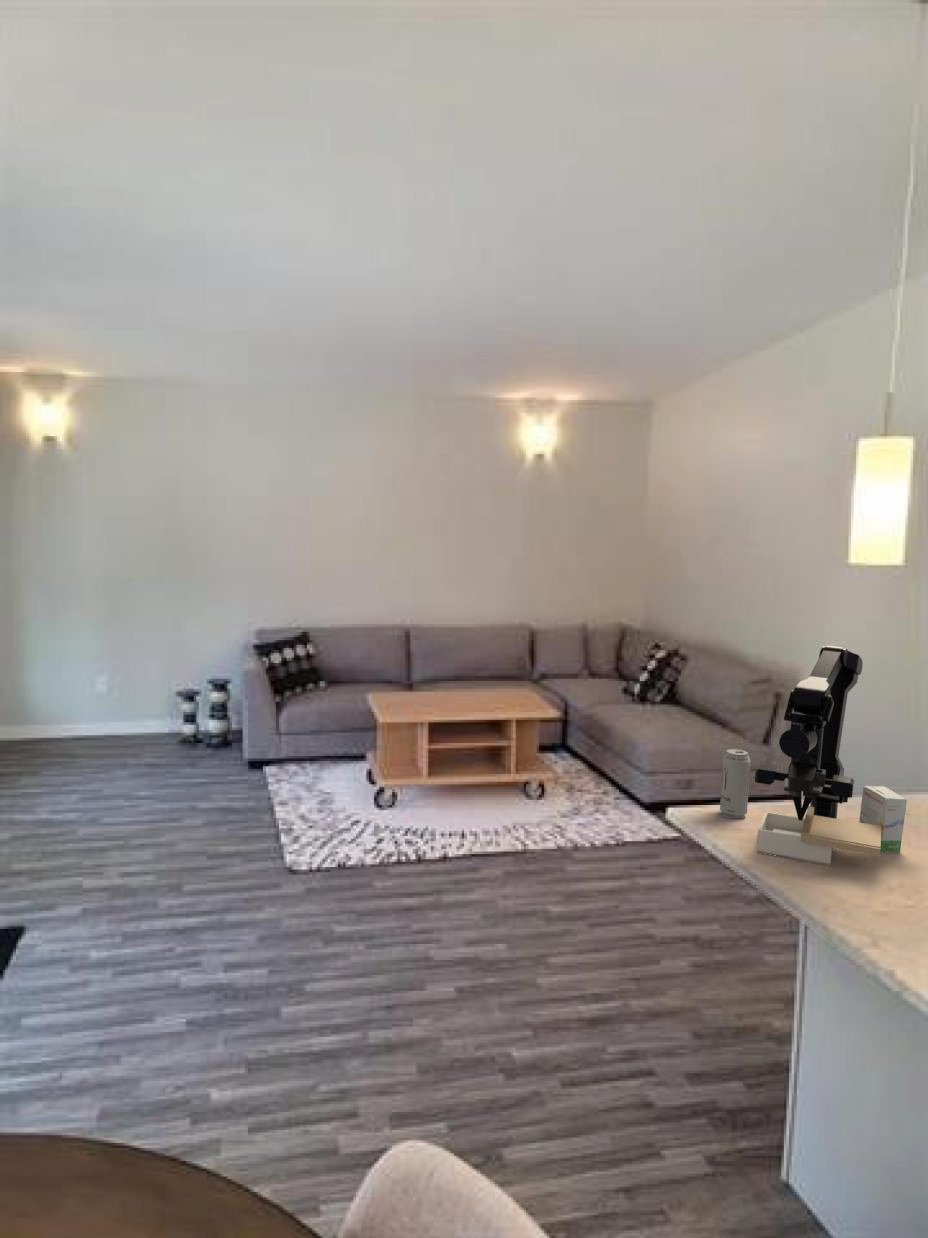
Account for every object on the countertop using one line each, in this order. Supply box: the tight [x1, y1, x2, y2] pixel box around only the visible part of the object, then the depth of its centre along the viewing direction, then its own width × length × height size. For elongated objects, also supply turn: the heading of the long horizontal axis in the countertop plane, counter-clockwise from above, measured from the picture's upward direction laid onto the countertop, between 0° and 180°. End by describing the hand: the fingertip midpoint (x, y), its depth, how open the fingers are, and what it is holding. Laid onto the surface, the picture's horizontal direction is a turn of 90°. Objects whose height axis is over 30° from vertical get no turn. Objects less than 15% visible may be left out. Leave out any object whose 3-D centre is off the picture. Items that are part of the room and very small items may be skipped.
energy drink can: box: [719, 748, 752, 819], centre depth 202 cm, size 6×6×15 cm
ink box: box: [858, 785, 907, 853], centre depth 186 cm, size 9×5×12 cm, turn 7°
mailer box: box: [756, 811, 834, 867], centre depth 183 cm, size 12×14×5 cm
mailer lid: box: [801, 805, 881, 857], centre depth 179 cm, size 14×14×4 cm
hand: (800, 820), depth 182 cm, fingers closed
